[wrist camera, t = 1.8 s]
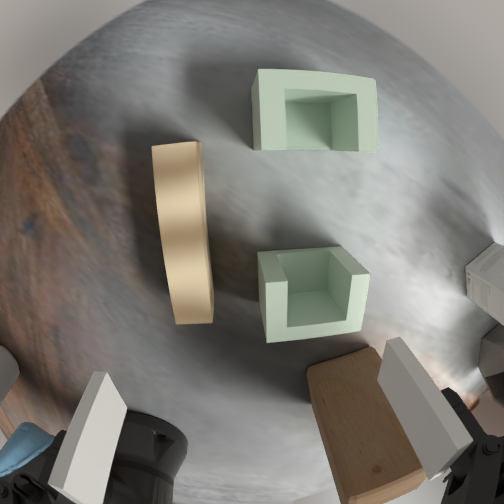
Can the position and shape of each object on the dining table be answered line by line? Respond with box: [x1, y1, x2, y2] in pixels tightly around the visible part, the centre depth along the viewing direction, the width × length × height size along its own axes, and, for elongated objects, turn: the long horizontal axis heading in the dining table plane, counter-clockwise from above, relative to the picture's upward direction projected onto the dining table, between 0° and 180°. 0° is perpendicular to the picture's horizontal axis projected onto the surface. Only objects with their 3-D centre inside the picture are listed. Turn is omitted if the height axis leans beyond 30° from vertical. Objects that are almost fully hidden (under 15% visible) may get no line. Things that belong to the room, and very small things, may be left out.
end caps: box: [251, 69, 379, 343], centre depth 24 cm, size 22×9×7 cm, turn 2°
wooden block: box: [306, 347, 427, 504], centre depth 27 cm, size 10×10×20 cm
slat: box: [152, 141, 215, 324], centre depth 25 cm, size 16×4×5 cm, turn 2°
